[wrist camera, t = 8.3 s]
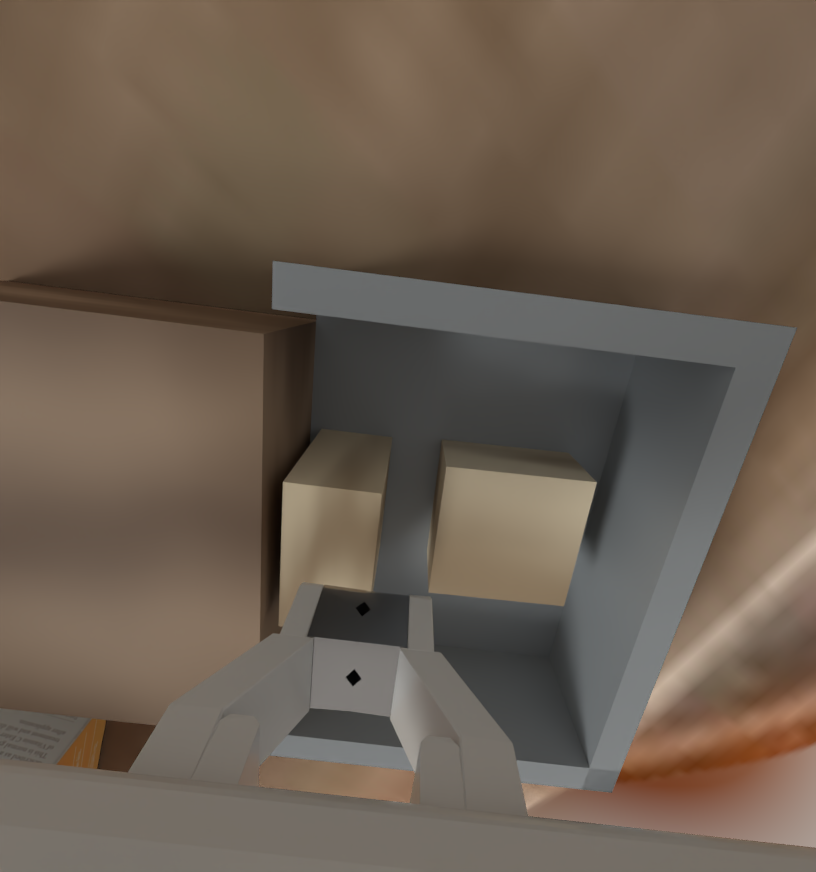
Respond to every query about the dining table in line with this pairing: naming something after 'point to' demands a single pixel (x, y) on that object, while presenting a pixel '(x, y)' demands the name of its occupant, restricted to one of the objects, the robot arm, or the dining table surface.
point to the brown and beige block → (140, 493)
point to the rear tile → (506, 522)
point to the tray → (553, 431)
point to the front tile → (333, 514)
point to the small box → (50, 738)
